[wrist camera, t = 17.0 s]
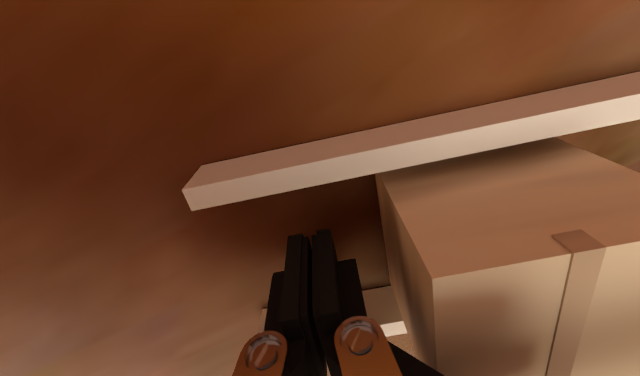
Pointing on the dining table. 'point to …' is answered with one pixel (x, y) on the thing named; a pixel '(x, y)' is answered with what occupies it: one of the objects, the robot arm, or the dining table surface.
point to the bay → (414, 153)
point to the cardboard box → (517, 261)
